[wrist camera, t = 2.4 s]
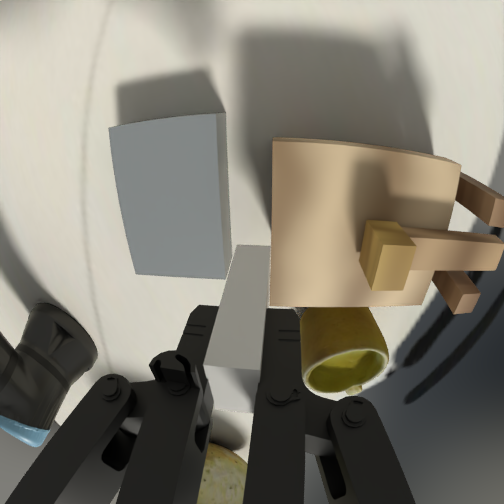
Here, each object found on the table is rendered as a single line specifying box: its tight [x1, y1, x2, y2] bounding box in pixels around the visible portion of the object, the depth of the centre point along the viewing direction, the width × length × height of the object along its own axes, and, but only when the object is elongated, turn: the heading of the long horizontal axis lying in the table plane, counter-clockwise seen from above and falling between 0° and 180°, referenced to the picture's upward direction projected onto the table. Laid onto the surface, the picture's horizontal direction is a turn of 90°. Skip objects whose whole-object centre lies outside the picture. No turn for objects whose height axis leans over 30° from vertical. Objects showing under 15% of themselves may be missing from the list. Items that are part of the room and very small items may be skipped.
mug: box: [300, 307, 389, 395], centre depth 29 cm, size 12×10×10 cm
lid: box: [269, 137, 461, 307], centre depth 17 cm, size 12×11×3 cm
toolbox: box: [432, 172, 504, 314], centre depth 18 cm, size 16×9×12 cm, turn 91°
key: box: [359, 220, 504, 291], centre depth 14 cm, size 12×3×3 cm, turn 91°
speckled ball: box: [197, 442, 248, 504], centre depth 45 cm, size 30×30×30 cm
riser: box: [109, 112, 232, 279], centre depth 23 cm, size 9×14×4 cm, turn 1°
